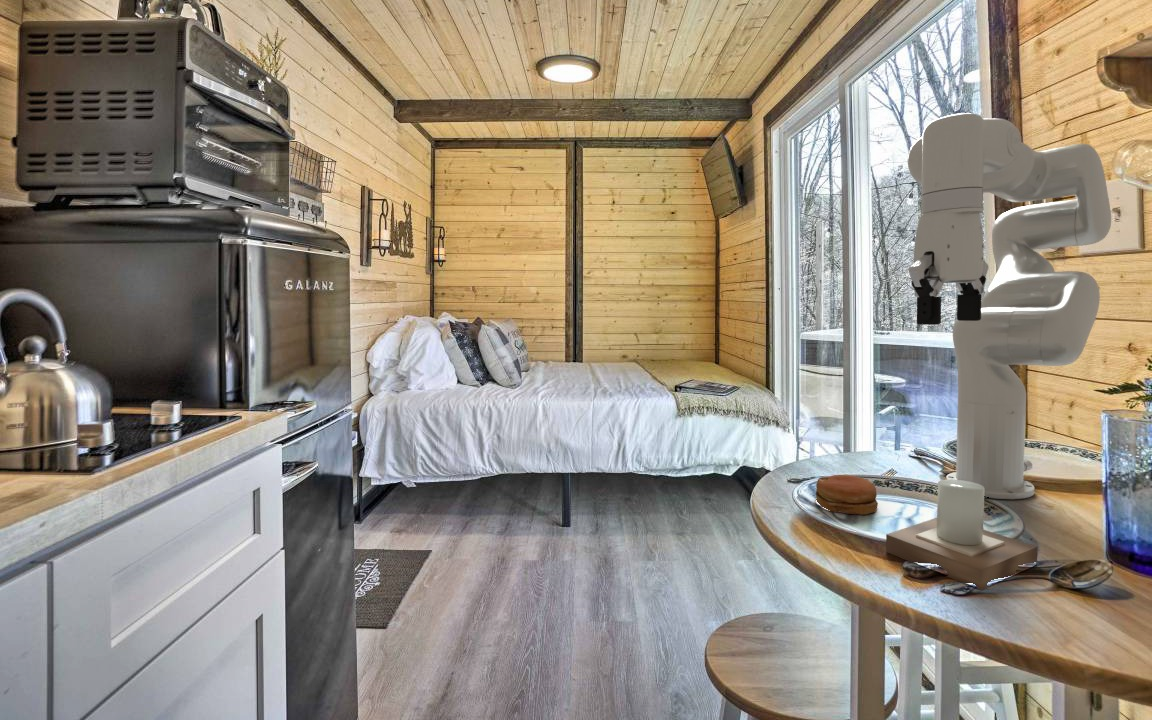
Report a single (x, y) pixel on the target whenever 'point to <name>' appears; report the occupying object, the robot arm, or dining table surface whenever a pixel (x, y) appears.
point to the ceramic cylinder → (960, 512)
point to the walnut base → (961, 553)
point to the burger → (846, 494)
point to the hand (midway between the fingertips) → (949, 322)
